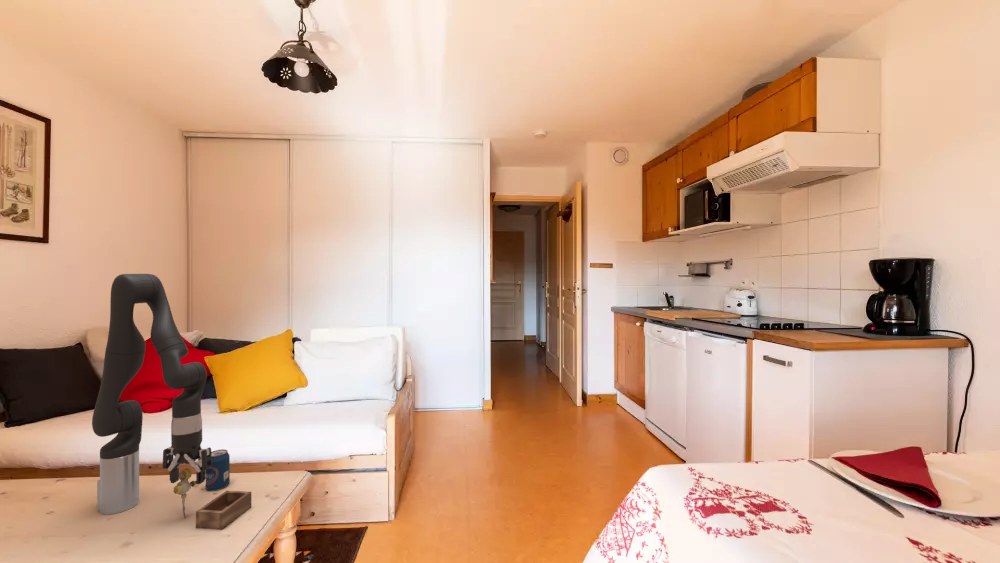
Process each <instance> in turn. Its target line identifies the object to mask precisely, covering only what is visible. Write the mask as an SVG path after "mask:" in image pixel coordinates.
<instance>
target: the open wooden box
mask: <svg viewBox="0 0 1000 563" xmlns="http://www.w3.org/2000/svg"><path fill="white" fill-rule="evenodd" d="M251 508H252V491H245V490H244V491H242V490H225V491H224V492H222V493H221V494H220V495H218V496H217V497H215V498H213V499H212V500H211V501H209V502H207V503H206V504H205V505H203V506H202V507H201V508H199V509H197V510H196V511H195V528H196V529H203V530H219V531H222V530H224V529H226V528H227V527H229V525H231V524H232V523H233V522H235V521H236V520H237V519H238V518H240V517H241V516H242V515H243V514H245V513H246V512H247V511H249V510H250V509H251Z"/></svg>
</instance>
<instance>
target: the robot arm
mask: <svg viewBox="0 0 1000 563" xmlns="http://www.w3.org/2000/svg"><path fill="white" fill-rule="evenodd" d="M109 302H110V307H109V308H110V313H109V314H110V315H109V327H108V333H107V334H108V335H107V341H106V345H105V346H106V347H105V352H104V358H103V359H104V360H103V368H102V376H101V381H100V386H99V391H98V395H97V397H96V398H97V399H96V401H95V406H94V409H93V413H92V419H91V426H92V431H93V433H94V434H95V435H96V436H97V437H101V438H104V437H105V438H106V437H109V436H112V435H115V436H114V437H113V438H112V439H111V440H110V441H108V442H107V443H105V444H104V445H103V446H102V447H100V450H99V479H98V480H97V482H96V488H97V489H96V490H97V491H96V493H97V494H96V495H97V496H96V500H97V501H96V503H97V504H96V506H97V507H96V511H97V512H99V513H100V514H101V515H106V516H108V515H109V516H110V515H116V514H119V513H123V512H126V511H128V510H130V509H133V508H134V507H136V506H137V505H138V504H139V503H140V444H141V442H142V435H143V434H142V432H143V420H144V419H143V418H144V417H143V408H142V407H141V404H140V403H139V402H138V401H137V400H134V399H130V400H129V399H128V400H124V401H120V398H121V396H122V393H123V391H124V389H125V388H126V387H127V385H129V383H130V382H132V380H133V379H134V378H135V376H136V375H137V374H138V372H139V371H140V370H141V368H142V367H143V364H144V361H145V354H146V346H147V344H146V341H145V338H144V336H143V335H142V333H141V331H139V329H138V327H137V325H136V324H135V320H134V308H135V305H136V304H147V306H148V307H149V308H150V310H151V312H152V323H151V328H150V341H151V344H152V345H153V347H154V350H155V351H156V353H157V354H158V357H159V358H160V363H161V364H160V366H161V372H162V378H163V381H164V384H165V385H166V386H167V387H168V388H169V389H172V390H176V391H177V390H182V389H183V391H182V392H181V393H180V394H179V395H177V396H176V397H174V398H173V399H172V400H171V401H172V402H171V423H170V424H171V426H170V429H171V431H170V432H171V433H170V434H171V435H170V436H171V437H170V438H171V439H170V440H171V446H169V447H167V448H164V449H163V452H162V453H163V454H162V469H164V470H167V471H168V472H169V481H170V484H174V483H176V482H178V481H179V480H180V479H179V473H180V469H179V466H180V465H182V464H186V465H190V466H191V467H192V468H194V469H195V471H196V472H195V474H196V475H195V476H196V478H195V481H196V483H197V484H196V485H201V484H202V483H204V482H205V481H206V469H208V468H210V467H211V466H212V455H211V452H212V448H211V447H207V448H202V446H201V444H202V442H203V418H202V401H201V399H202V397H203V394H204V391H205V390H204V389H205V386H206V383H207V378H208V372H207V369H206V366H204V364H202V363H201V362H198V361H194V362H189V363H184V364H182V363H181V359H183V358H185V357H186V356H187V355H188V354H189V348H188V347H187V345H186V342H185V341H184V339H183V337H182V335H181V333H180V331H179V329H178V327H177V325H176V323H175V320H174V316H173V314H172V310H171V307H170V303H169V299H168V297H167V293H166V291H165V287H164V285H163V283H162V281H161V279H160V278H159V277H158V276H157V275H156V274H152V273H122V274H118V275H116V277H115V278H114V280H113V281H112V284H111V288H110V301H109ZM119 401H120V402H119Z"/></svg>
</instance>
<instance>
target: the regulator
mask: <svg viewBox="0 0 1000 563" xmlns="http://www.w3.org/2000/svg"><path fill="white" fill-rule="evenodd" d="M192 474H193V473H192V469H190V468H188V467H187V468H184V469H181V470H179V480H180V481H179V482H178V483H177V484H175V486H174V487H173V493H174V494H176V495H179V496H181V497H180V498H181V499H182V501H181V504H182V513H183V517H184V519H186V518H187V517H186V512H185V511H186V507H185V504H186V503H185V501H186V498H187V495H188V494H187V492H189V490H190V489H191V488H193V487H195V486H196V485H198V484H197V483H196V480H195V481H194V480H192V481H189V479H191V477H192Z"/></svg>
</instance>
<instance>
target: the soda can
mask: <svg viewBox="0 0 1000 563" xmlns="http://www.w3.org/2000/svg"><path fill="white" fill-rule="evenodd" d="M211 455H212V466H211V467H210V468H208V469H206V470H205V477H206V478H205V488H206V489H207V490H208V491H213V492H214V491H219V490H222V489H224V488H226V487H228V485H229V483H230V478H231V477H230V475H231V474H230V472H231V471H230V467H231V466H230V464H231V463H230V457H231V456H230V453H229V452H228V450H227V449H216V450H211Z"/></svg>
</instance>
